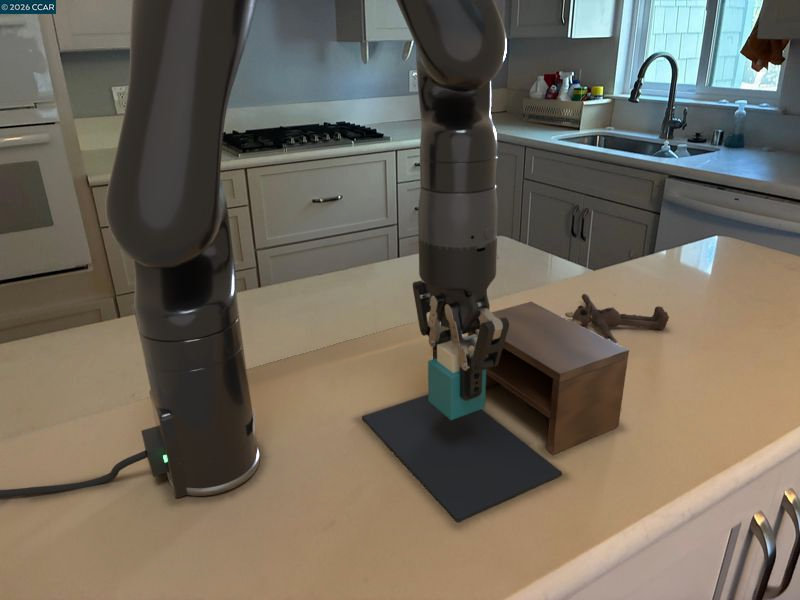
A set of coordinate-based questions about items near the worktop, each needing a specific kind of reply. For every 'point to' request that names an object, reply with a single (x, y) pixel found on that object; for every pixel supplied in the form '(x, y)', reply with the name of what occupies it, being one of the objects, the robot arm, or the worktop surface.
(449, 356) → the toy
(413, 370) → the worktop surface
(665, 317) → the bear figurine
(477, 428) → the mat
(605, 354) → the shelf
